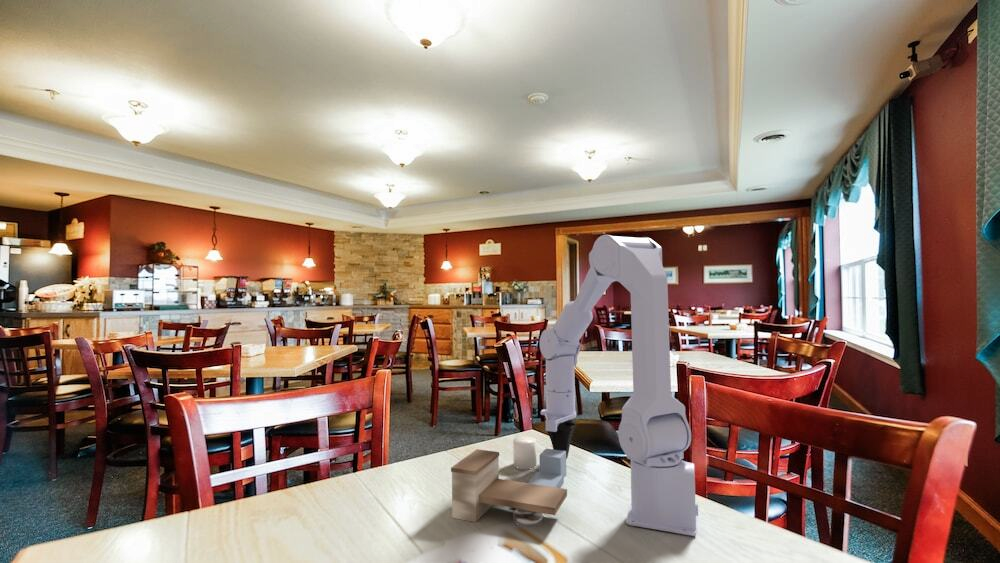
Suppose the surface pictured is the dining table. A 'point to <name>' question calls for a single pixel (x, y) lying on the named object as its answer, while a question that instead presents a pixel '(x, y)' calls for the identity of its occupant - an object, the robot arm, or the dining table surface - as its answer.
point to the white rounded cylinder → (524, 452)
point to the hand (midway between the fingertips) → (561, 458)
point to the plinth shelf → (496, 489)
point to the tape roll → (527, 518)
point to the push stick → (551, 469)
